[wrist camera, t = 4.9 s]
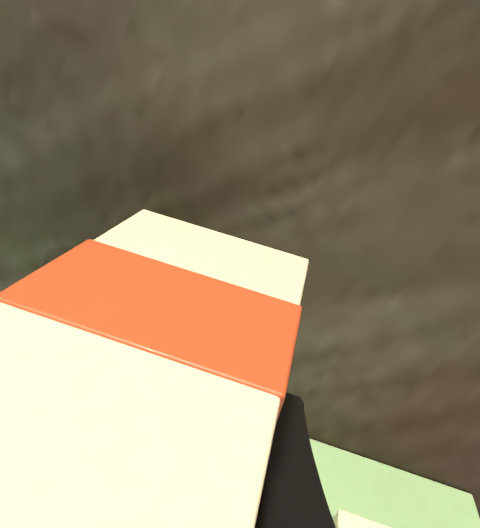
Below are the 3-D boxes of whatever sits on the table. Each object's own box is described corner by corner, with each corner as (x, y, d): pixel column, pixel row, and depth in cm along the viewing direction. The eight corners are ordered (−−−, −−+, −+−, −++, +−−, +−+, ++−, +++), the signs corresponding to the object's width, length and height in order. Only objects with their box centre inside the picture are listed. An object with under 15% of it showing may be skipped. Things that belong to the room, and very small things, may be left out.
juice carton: (312, 257, 11) (235, 664, 3) (252, 439, 13) (127, 915, 6) (141, 205, 11) (-278, 455, 4) (113, 390, 14) (-174, 769, 6)
